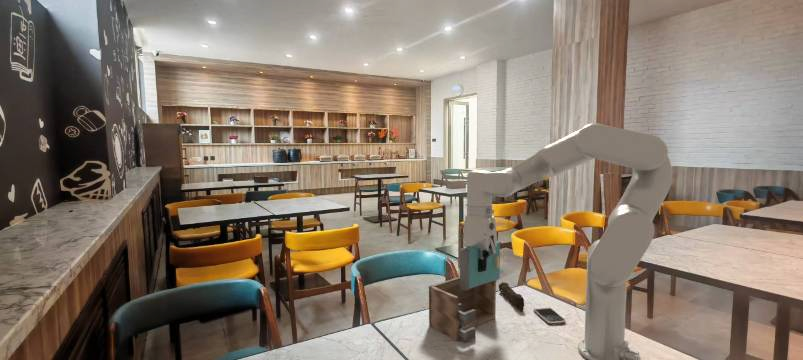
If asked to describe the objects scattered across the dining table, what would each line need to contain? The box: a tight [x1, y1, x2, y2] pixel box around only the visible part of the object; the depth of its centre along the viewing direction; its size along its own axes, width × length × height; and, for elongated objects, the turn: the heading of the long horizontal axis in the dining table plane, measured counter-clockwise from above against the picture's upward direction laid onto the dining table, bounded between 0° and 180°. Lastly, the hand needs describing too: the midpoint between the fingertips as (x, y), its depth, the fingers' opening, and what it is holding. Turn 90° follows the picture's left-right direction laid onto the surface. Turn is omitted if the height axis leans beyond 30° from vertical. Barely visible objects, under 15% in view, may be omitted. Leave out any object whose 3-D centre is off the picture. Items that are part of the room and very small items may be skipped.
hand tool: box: [498, 282, 525, 312], centre depth 141 cm, size 19×4×5 cm, turn 3°
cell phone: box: [533, 307, 567, 326], centre depth 128 cm, size 6×11×1 cm, turn 8°
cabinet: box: [428, 276, 497, 343], centre depth 123 cm, size 14×21×13 cm
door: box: [459, 240, 501, 290], centre depth 119 cm, size 3×16×12 cm, turn 127°
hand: (478, 269), depth 119 cm, fingers closed on door, 2 cm apart
